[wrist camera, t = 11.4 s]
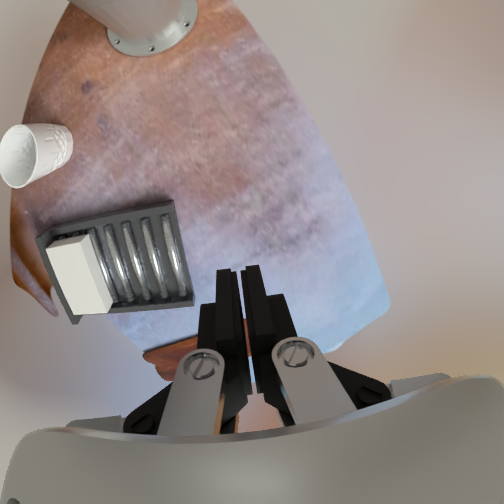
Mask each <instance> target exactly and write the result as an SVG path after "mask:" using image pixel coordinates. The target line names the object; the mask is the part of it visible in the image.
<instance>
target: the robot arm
mask: <svg viewBox="0 0 504 504" xmlns="http://www.w3.org/2000/svg"><path fill="white" fill-rule="evenodd" d="M68 1H69V2H71V3H72V4H74V5H75V6H77V7H78V8H80V9H81V10H83V11H84V12H86V13H87V14H89V15H90V16H91V17H93V18H94V19H96V20H97V21H98V22H100V23H101V24H103V25H104V26H105V27H107V35H108V38H109V41H110V43H111V44H112V45H113V47H114V48H116V49H117V50H118V51H120V52H122V53H123V54H126V55H129V56H134V57H147V56H152V55H156V54H159V53H162V52H165V51H167V50H168V49H170V48H172V47H174V46H175V45H177V44H178V43H180V42H181V41H182V40H183V39H184V38H185V37H186V36H187V35H188V34H189V32H190V31H191V30H192V28H193V26H194V24H195V23H196V19H197V16H198V7H197V2H196V0H68ZM186 25H189V26H187V27H186ZM119 42H120V43H119ZM118 43H119V44H118ZM152 49H154V51H152ZM245 268H246V270H242V271H241V280H242V288H243V297H244V305H245V313H246V321H247V329H248V337H249V344H250V350H251V357H252V363H253V369H254V375H255V382H256V387H257V393H258V394H259V393H263V394H264V400H265V402H266V403H268V404H270V405H272V406H273V407H275V408H276V412H277V415H278V417H279V420H280V423H281V425H282V428H276V429H269V430H262V431H254V432H245V433H238V424H239V411H240V410H241V409H242V408H243V407H244V406H245V405H246V403H248V399H247V395H251V394H253V393H252V385H251V376H250V368H249V360H248V351H247V342H246V334H245V326H244V319H243V313H242V306H241V300H240V293H239V287H238V280H237V273H236V271H234V272H231V269H230V268H229V269H222V270H217V275H216V303H208V304H201V307H200V317H199V328H198V339H197V350H194V351H191V352H190V353H188V354H186V355H185V356H184V357H183V358H182V359H181V361H180V362H179V364H178V367H177V370H176V374H175V377H174V380H173V382H172V383H170V384H169V385H168V386H166V387H165V388H164V389H162V390H161V391H160V392H159V393H157V394H156V395H154V396H153V397H152V398H150V399H149V400H148V401H146V402H145V403H143V404H142V405H141V406H139V407H138V408H137V409H135V410H134V411H132V412H131V413H130V414H129V415H128V416H127V417H126V418H122V417H121V416H120V415H119V416H112V417H104V418H94V419H83V420H74V421H71V422H70V423H68V424H67V426H66V427H53V428H45V429H39V430H36V431H33V432H30V433H28V434H26V435H25V436H24V437H23V438H22V439H21V440H20V441H19V443H18V444H17V446H16V448H15V450H14V453H13V455H12V458H11V460H10V463H9V466H8V469H7V473H6V476H5V480H4V485H3V490H2V494H1V501H0V504H504V384H503V383H502V382H500V381H499V380H498V379H496V378H494V377H492V376H489V375H479V374H476V375H464V376H458V377H453V378H451V377H450V376H448V375H446V374H443V373H436V374H431V375H425V376H419V377H413V378H407V379H400V380H392V381H391V382H390V384H384V383H382V382H380V381H378V380H375V379H373V378H370V377H367V376H365V375H362V374H359V373H357V372H354V371H351V370H349V369H346V368H343V367H341V366H339V365H336V364H334V363H331V362H328V361H326V359H325V357H324V356H323V354H322V352H321V351H320V349H319V348H318V346H317V345H316V344H315V343H314V342H313V341H311V340H309V339H307V338H303V337H298V336H297V333H296V330H295V327H294V324H293V321H292V318H291V315H290V312H289V309H288V306H287V303H286V300H285V297H284V295H283V294H276V295H270V296H266V292H265V288H264V283H263V279H262V275H261V271H260V267H259V265H252V266H245Z"/></svg>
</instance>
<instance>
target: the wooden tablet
mask: <svg viewBox="0 0 504 504" xmlns="http://www.w3.org/2000/svg"><path fill="white" fill-rule="evenodd" d="M244 326H245V334H246V342H247V351H248V357H249V356H251V350H250V344H249V337H248V329H247V321H246V319H244ZM197 339H198V336H196V337H193V338H190V339H187V340H184V341H180V342H177V343H174V344H171V345H168V346H164V347H160V348H157V349H154V350H151V351H148V352H146V353H144V354H143V358H144V359H145V360H146V361H147V362H150V363H152V364H155V365H156V367H155V368H156V370H157V372H158V374H159V375H160V376H161V377H162V378H163V379H164V380H166V381H173V380H174V377H175V374H176V370H177V367H178V364H179V362H180V361H181V359H182V358H183V357H184V356H185V355H186V354H188V353H190V352H191V351H194V350H197Z"/></svg>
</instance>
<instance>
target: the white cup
mask: <svg viewBox="0 0 504 504" xmlns="http://www.w3.org/2000/svg"><path fill="white" fill-rule="evenodd" d="M72 152H73V138H72V134H71V132H70V131H69V130H68V128H67V127H66V126H63V125H60V124H47V123H46V124H44V123H35V124H17V125H14V126H12V127H11V128H9V130H7V132H6V133H5V134H4V136H3V138H2V140H1V142H0V174H1V176H2V178H3V179H4V181H5V182H6V183H7V184H8V185H9V186H11V187H13V188H21V187H23V186H25V185H27V184H29V183H31V182H33V181H35V180H37V179H39V178H41V177H43V176H45V175H46V174H49V173H51V172H52V171H54V170H55V169H58V168H60V167H62V166H63V165H64V164H65V163H66V162H67V161H68V160H69V158H70V156H71V154H72Z"/></svg>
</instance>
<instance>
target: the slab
mask: <svg viewBox="0 0 504 504" xmlns="http://www.w3.org/2000/svg"><path fill="white" fill-rule="evenodd" d="M46 252H47V254H48V257H49V260H50V262H51V265H52V267H53V270H54V272H55V275H56V277H57V280H58V282H59V284H60V286H61V289H62V291H63V293H64V295H65V298H66V300H67V302H68V304H69V306H70V308H71V310H72V312H73V314H74V315H81V314H99V313H108V311H109V309H110V307H111V305H112V303H113V300H112V298H111V295H110V293H109V290H108V288H107V285H106V283H105V280H104V277H103V275H102V272H101V269H100V267H99V264H98V261H97V258H96V255H95V252H94V249H93V246H92V243H91V240H90V237H89V234H85V235H80V236H76V237H71V238H66V239H61V240H57V241H54V242H53V243H52V244H51V245H50V246H49V247H47V248H46Z"/></svg>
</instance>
